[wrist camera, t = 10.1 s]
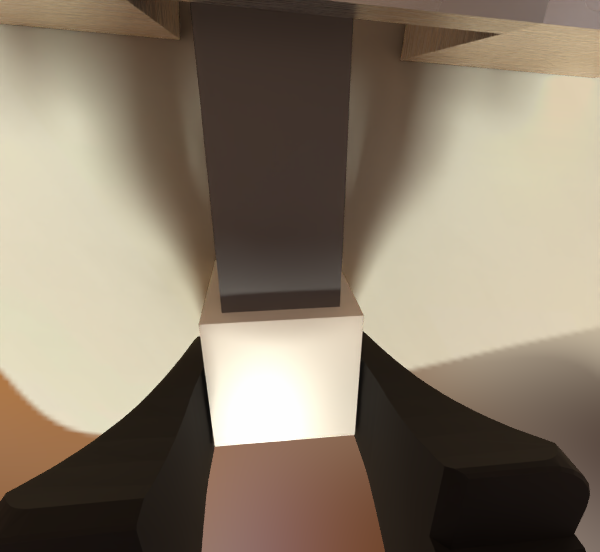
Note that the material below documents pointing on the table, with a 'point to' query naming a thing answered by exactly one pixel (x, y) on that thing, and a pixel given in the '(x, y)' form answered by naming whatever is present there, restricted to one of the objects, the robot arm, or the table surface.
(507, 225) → the table surface
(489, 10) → the grey bridge block
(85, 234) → the table surface
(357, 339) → the plug
